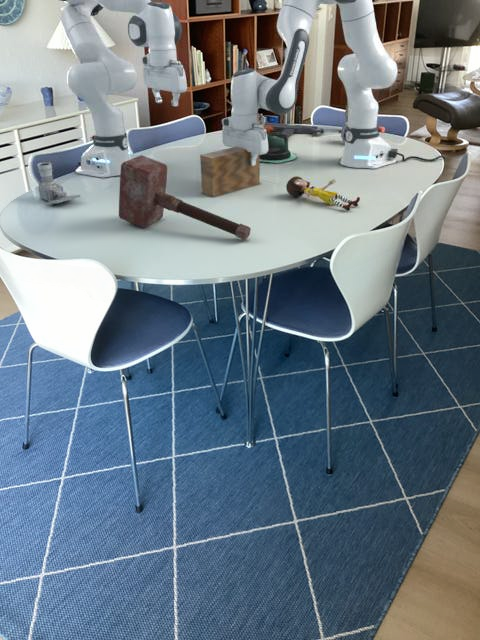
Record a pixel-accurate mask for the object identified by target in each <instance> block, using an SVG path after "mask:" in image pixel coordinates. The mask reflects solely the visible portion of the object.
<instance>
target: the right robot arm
mask: <svg viewBox="0 0 480 640" xmlns="http://www.w3.org/2000/svg"><path fill="white" fill-rule="evenodd" d="M321 4H322V5H334V4H335V5H336V4H337V5H338V7H339V13H340V14H339V15H340V20H341V25H342V30H343V31H342V32H343V37H344V41H345V44H346V45H347V46H348V48H349V49H350V50H352V52H353V53H351V54H346V55H344V56H343V57H342V58H341V59H340V60H339V63H338V65H337V76H338V78H339V80H340V81H341V82H342V85H343V87H344V89H345V90H344V91H345V94H346V97H347V98H346V99H348V122H347V126H346V132H345V137H346V141H344V147H343V152H342V155H341V159H340V162H339V163H340V165H342V166H345V167H348V168H355V169H370V170H371V169H373V170H375V169H379V168H381V167H384V166H388V165H391V164H395V163H397V156H400V157H402V158H401V160H402V162H405V161H408V160H410V159H417V160H420V161H422V162H423V161H424V162H435V161H436V160H438V159H440V158H442V159H443V160H446V156H444V155H438V156H436V157H435V158H432V159H431V158H430V159H429V158H425V157H424V158H423V157H420V156H417V155H416V156H414V155H410V156H408V157H406V158H405V155H404V154H403V153H400V152H398V151H399V149H398V148H392V147H391V145H390V144H389V143H388V142H387V141H386V140H384V138H383V137H381V136H380V133H382V134H383V133H385V131H386V128H385V127H384V126H378V115H379V103H378V101H377V100H376V99H375V96H374V94H373V91H372V90H382V89H387V88H390V87H392V85H394V83H395V82H396V79H397V76H398V64H397V63H396V61H395V60H394V59H393V58H391V56H390V55H389V53H388V52H387V50H386V49H385V47H384V45H383V43H382V40H381V38H380V35H379V32H378V28H377V21H376V17H375V16H376V15H375V9H374V4H373V0H283V3H282V5H281V7H280V10H279V14H278V17H277V22H276V30H277V33H278V35H279V37H280V38H281V39H282V41H283V42H284V43H285V45H286V55H285V59H284V62H283V65H282V69H281V72H280V75H279V77H278V78H277V79H274V78H270V77H267V76H264V75H262V74H261V73H259V72H257V71H256V70H255V69H254V68H243V69H239V70H236V71H235V72H233V74H232V77H231V82H230V100H231V105H232V107H231V112H230V113H231V115H230V116H228V117H225V118H222V119H221V124H222V130H221V135H222V144H223V146H224V147H228V148H233V147H238V148H242V149H246V150H247V152H251V156H252V158H251V160H249V165H252V166H254V165H256V159H257V157H258V155H262V154H266V153H267V152H268V138H267V133H266V130H265V128H264V127H263V126H262V125H263V124H259V112H258V111H259V110H260V109H263V110H266V111H269V112H271V113H273V114H275V115H278V116H284V115H287V114H289V113H290V112H291V111H293V109H294V107H295V105H296V104H297V99H298V89H299V83H300V79H301V75H302V72H303V68H304V64H305V61H306V58H307V55H308V50H309V46H310V32H311V28H312V25H313V22H314V19H315V16H316V14H317V11H318V8H319V6H321Z"/></svg>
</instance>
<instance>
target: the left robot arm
mask: <svg viewBox="0 0 480 640" xmlns="http://www.w3.org/2000/svg"><path fill="white" fill-rule="evenodd" d="M58 1H59V2H61V3H66V4H67V6H65V7H64V8H63V9H62V10H61V12H60V21H61V26H62V29H63V32H64V34H65V37H66V39H67V42H68V44H69V45H70V48H71V50H72V52H73V54H74V56H75V58H76V59H77V60H78V61H79V62H80V63H78V64H76V65H72V66H71V67H69V69H68V71H67V74H66V81H67V85H68V88H69V89H70V91H71V92H72V93H73V94H74V96H77V97H78V98H79V99H81V100H82V101H83V103H85V105H86V106H87V107H88V109H89V111H90V114H91V117H92V122H93V126H94V133H95V134H93V135H92V136H90V137H89V141H92V145H91V146H90V147H88V148H87V149H86V150H85V151H84V152H83V153H82V154H81V157H80V159H79V161H78V162H77V165H79V167H77V168H76V169H75V174H79V175H85V176H90V177H97V178H111V177H116V176H120V173H121V164H122V163H123V162H125V161H128V160H130V159H131V156H130V155H131V152H130V151H129V142H128V135H127V132H126V126H125V119H124V118H125V117H124V112H123V111H122V110H121V108H120V107H118V106H116V105H114V104H112V103H110V102H109V100H108V99H107V96H108V95H114V94H115V95H116V94H123V93H126V92H129V91H131V90H133V89H135V88H136V85H137V83H138V73H137V69H136V68H135V65H133V63H131V62H130V61H128V60H126V59H123V58H121V57H120V56H119V55H117V54H115V53H114V52H113V51H112V50H110V49H109V48H108V46H106V44H105V43H104V41H103V40H102V37H101V36H100V34H99V32H98V30H97V28H96V25H95V24H94V23H93V20H92V17H94V16H97V15H98V14H99V13H100V12H101V11H102V10H103V9H106V10H108V11H111V12H117V13H118V12H121V13H132V14H134V15H132V16H131V18H129V21H128V23H127V34H128V37H129V39H130V41H131V42H132V43H133V45H134V46H136V47H140V48H148V53H147V54H145V55H143V56H142V57H141V64H142V65H143V66H142V75H143V82H144V83H143V84H144V85H145V87H146V88H148V89H151V90H152V94H153V96H154V98H155V103H157V104H162V103H163V97H162V96H161V94H160V91H166V92H171V95H172V99H171V100H170V104H171V106H172V107H178V106H179V100H180V96H181V93H186V92H187V90H188V82H187V76H186V70H185V68H184V65H183V64H182V62H181V61H180V60H178V55H177V46H176V45H177V44H178V42H179V41H180V40H181V38H182V34H183V27H182V23H181V20H180V19H179V18H178V16H177V15H176V14H175V13H174V12H173V9H172V7H171V5H170V4H169V3H167V2H164V1H155V0H58ZM91 16H92V17H91Z"/></svg>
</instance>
